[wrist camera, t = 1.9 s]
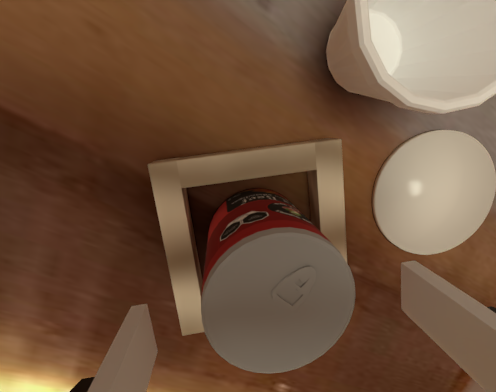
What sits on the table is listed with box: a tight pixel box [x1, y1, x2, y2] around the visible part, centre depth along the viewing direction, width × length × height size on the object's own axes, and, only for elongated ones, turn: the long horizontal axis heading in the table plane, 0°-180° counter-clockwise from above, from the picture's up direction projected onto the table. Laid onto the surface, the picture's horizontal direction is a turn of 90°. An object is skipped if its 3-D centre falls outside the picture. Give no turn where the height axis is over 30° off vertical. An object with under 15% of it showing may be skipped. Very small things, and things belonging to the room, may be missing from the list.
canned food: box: [201, 189, 356, 374], centre depth 19 cm, size 8×8×11 cm
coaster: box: [372, 130, 496, 255], centre depth 25 cm, size 11×11×1 cm
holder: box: [148, 138, 347, 336], centre depth 24 cm, size 14×14×2 cm
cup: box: [326, 0, 496, 114], centre depth 18 cm, size 10×10×9 cm
